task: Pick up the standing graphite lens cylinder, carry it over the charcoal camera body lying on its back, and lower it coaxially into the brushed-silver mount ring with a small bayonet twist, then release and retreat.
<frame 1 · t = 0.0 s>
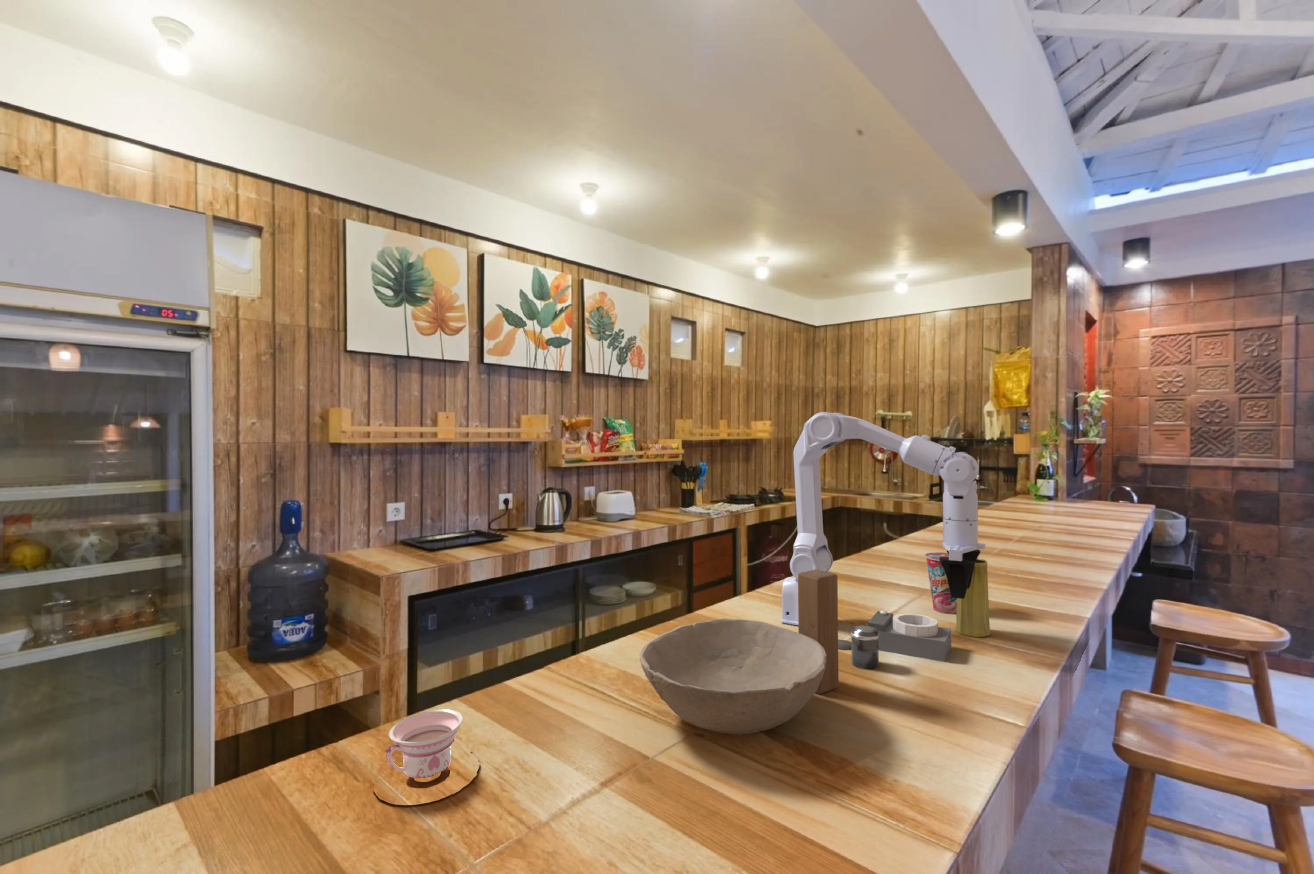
hand: (960, 592, 111), 10 cm above the countertop, fingers open, 7 cm apart
cup: (948, 611, 133), on the countertop
camera body: (909, 647, 111), on the countertop
lens cap: (841, 647, 113), on the countertop
lens: (865, 664, 104), on the countertop
wooden block: (807, 683, 97), on the countertop
teacup: (428, 778, 72), on the countertop
vase: (972, 633, 119), on the countertop
bowl: (733, 719, 85), on the countertop
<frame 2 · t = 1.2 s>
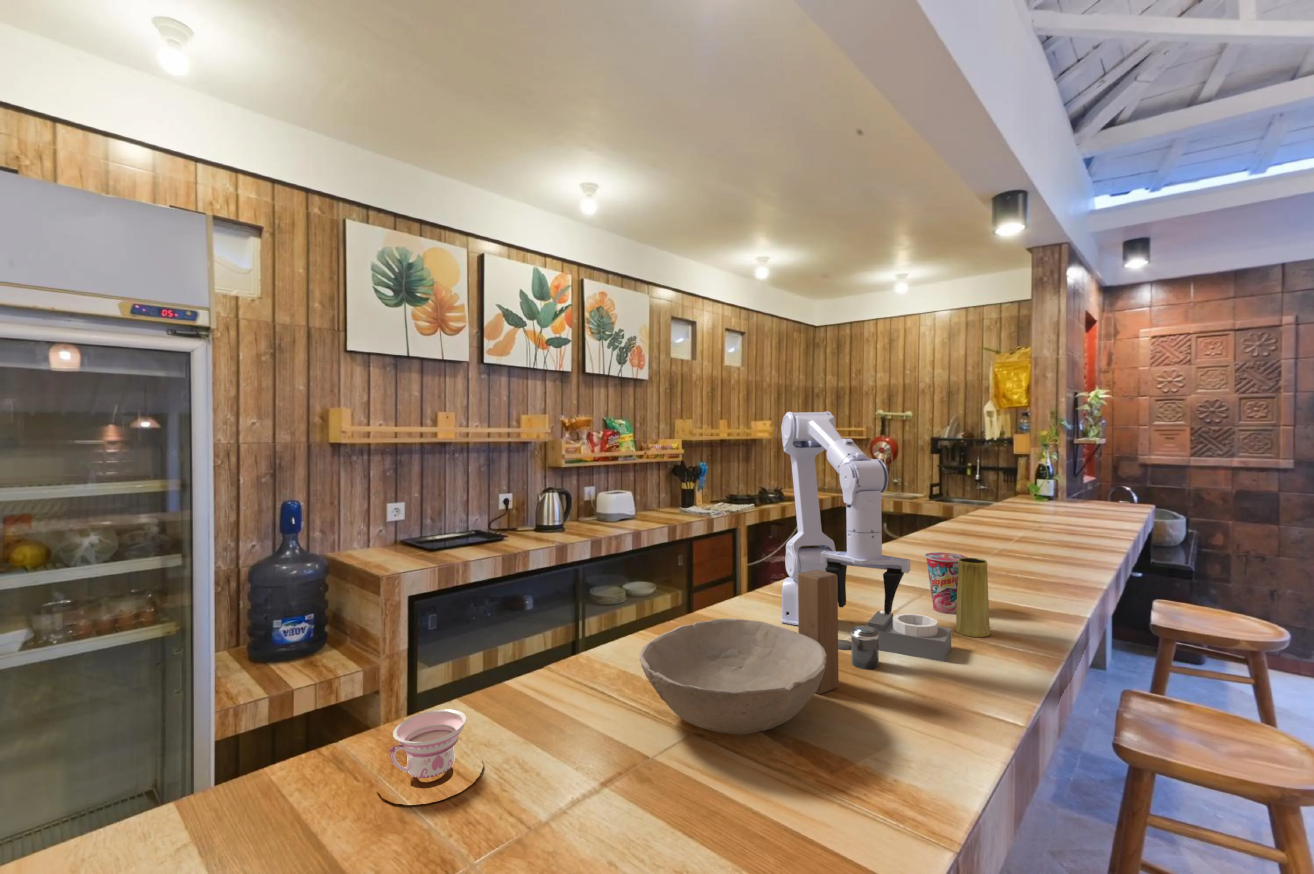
hand: (864, 609, 103), 10 cm above the countertop, fingers open, 7 cm apart
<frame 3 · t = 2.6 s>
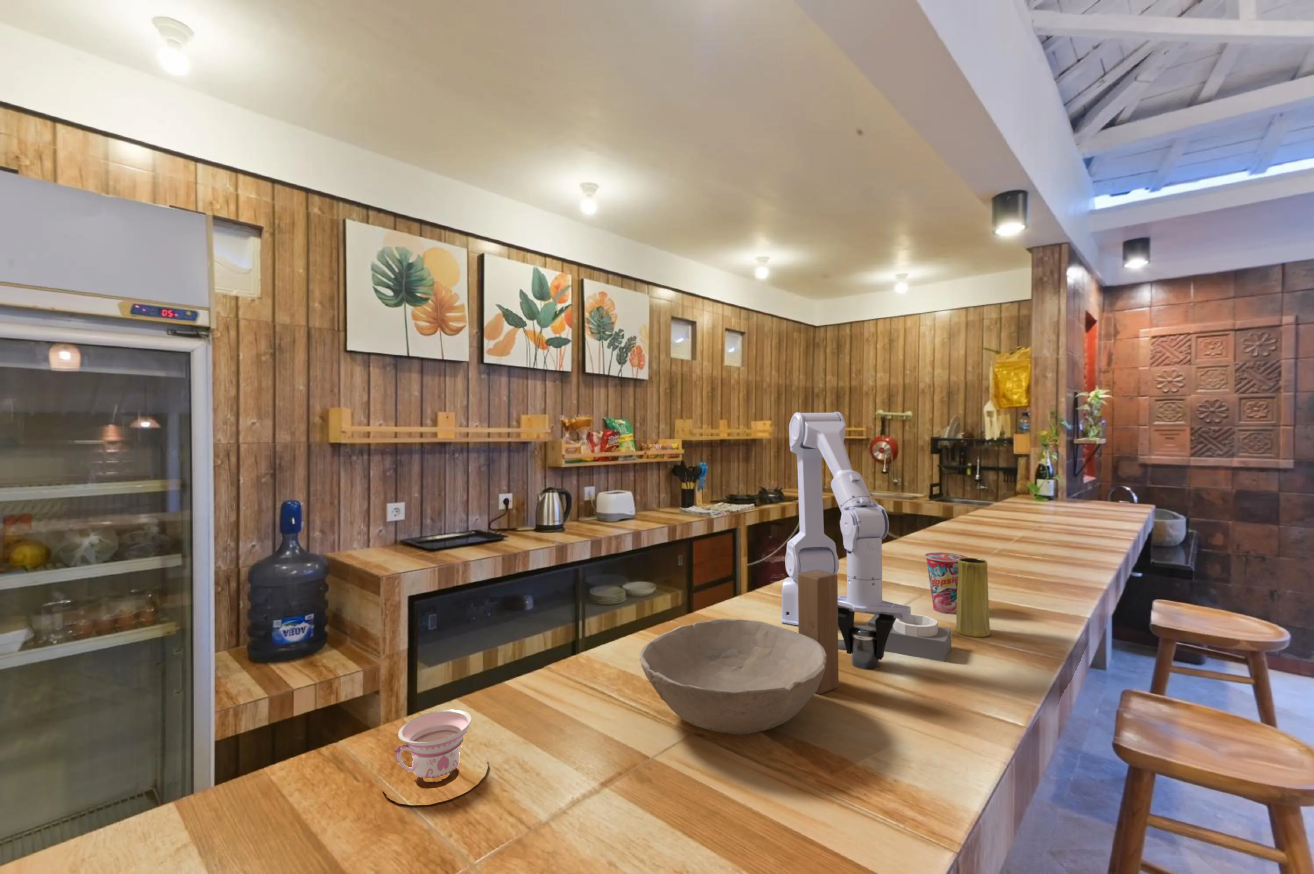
hand: (865, 654, 104), 2 cm above the countertop, fingers closed on lens, 4 cm apart
lens: (865, 664, 104), on the countertop, touching gripper
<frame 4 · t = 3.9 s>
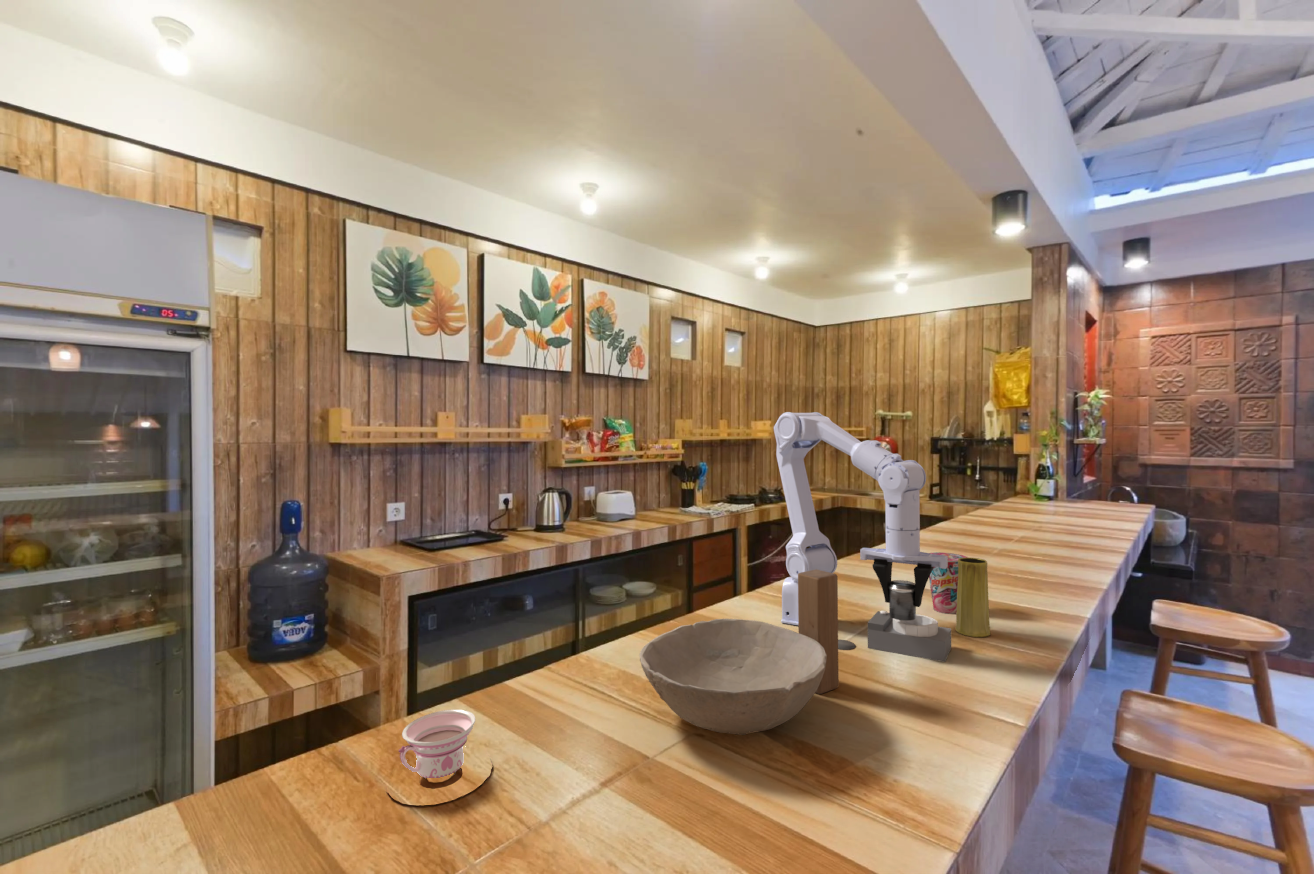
hand: (903, 603, 109), 9 cm above the countertop, fingers closed on lens, 4 cm apart
lens: (902, 616, 108), point 7 cm above the countertop, touching gripper
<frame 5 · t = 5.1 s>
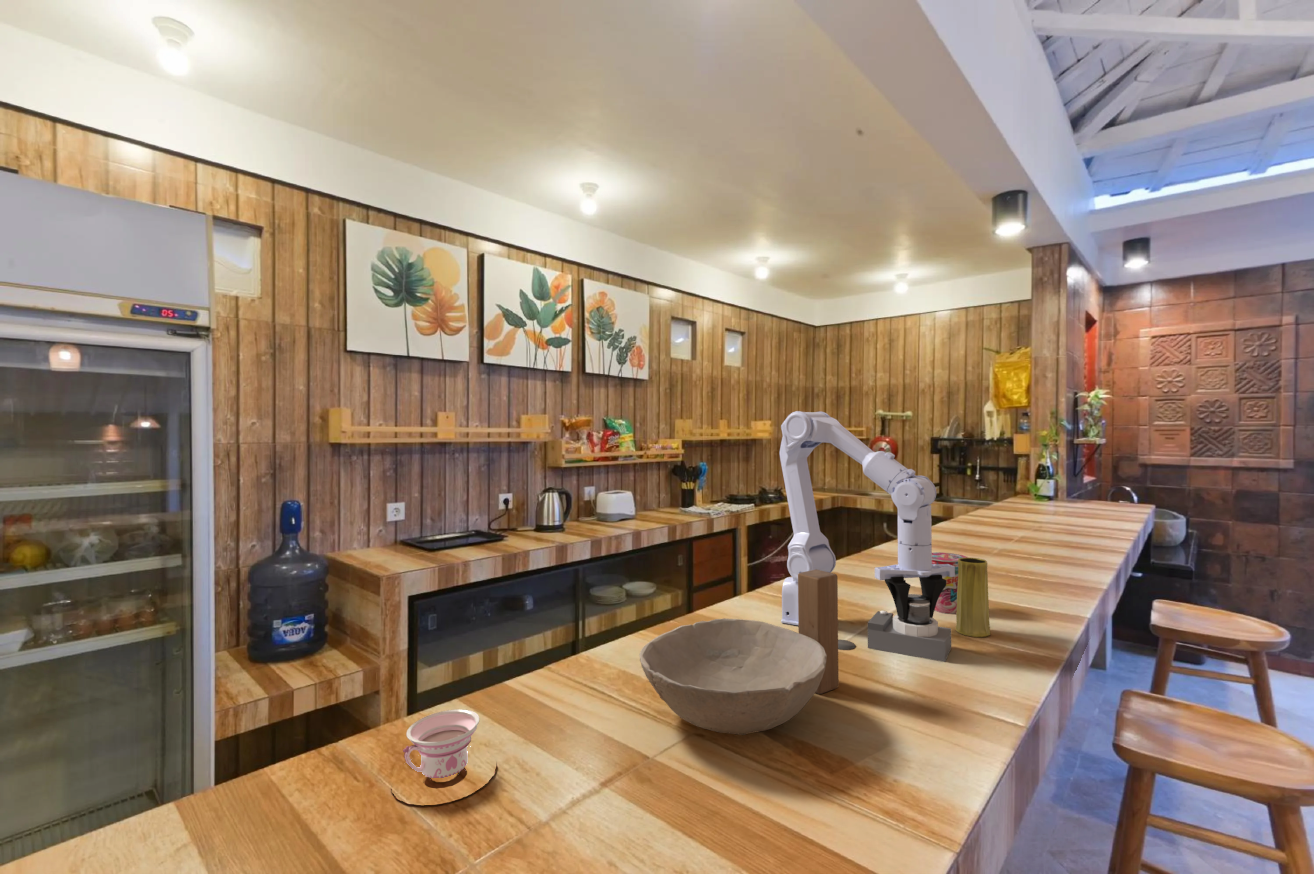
hand: (915, 616, 110), 6 cm above the countertop, fingers closed on lens, 4 cm apart
lens: (916, 630, 110), point 4 cm above the countertop, touching gripper
when the fingers open (6 cm above the countertop, at t = 5.6 s): lens stays where it is, resting on camera body.
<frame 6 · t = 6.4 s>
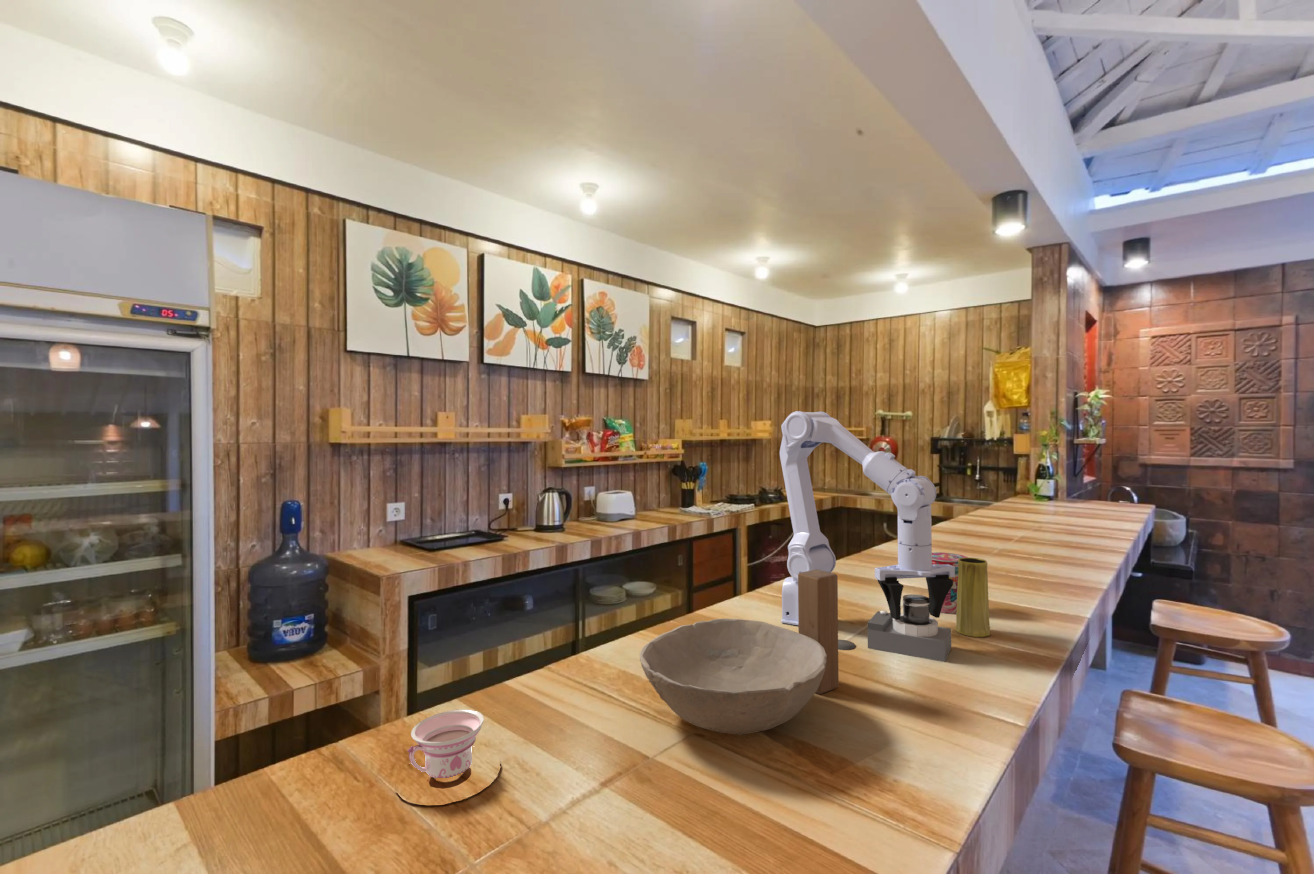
hand: (915, 617, 110), 6 cm above the countertop, fingers open, 7 cm apart
lens: (916, 630, 110), point 4 cm above the countertop, touching camera body
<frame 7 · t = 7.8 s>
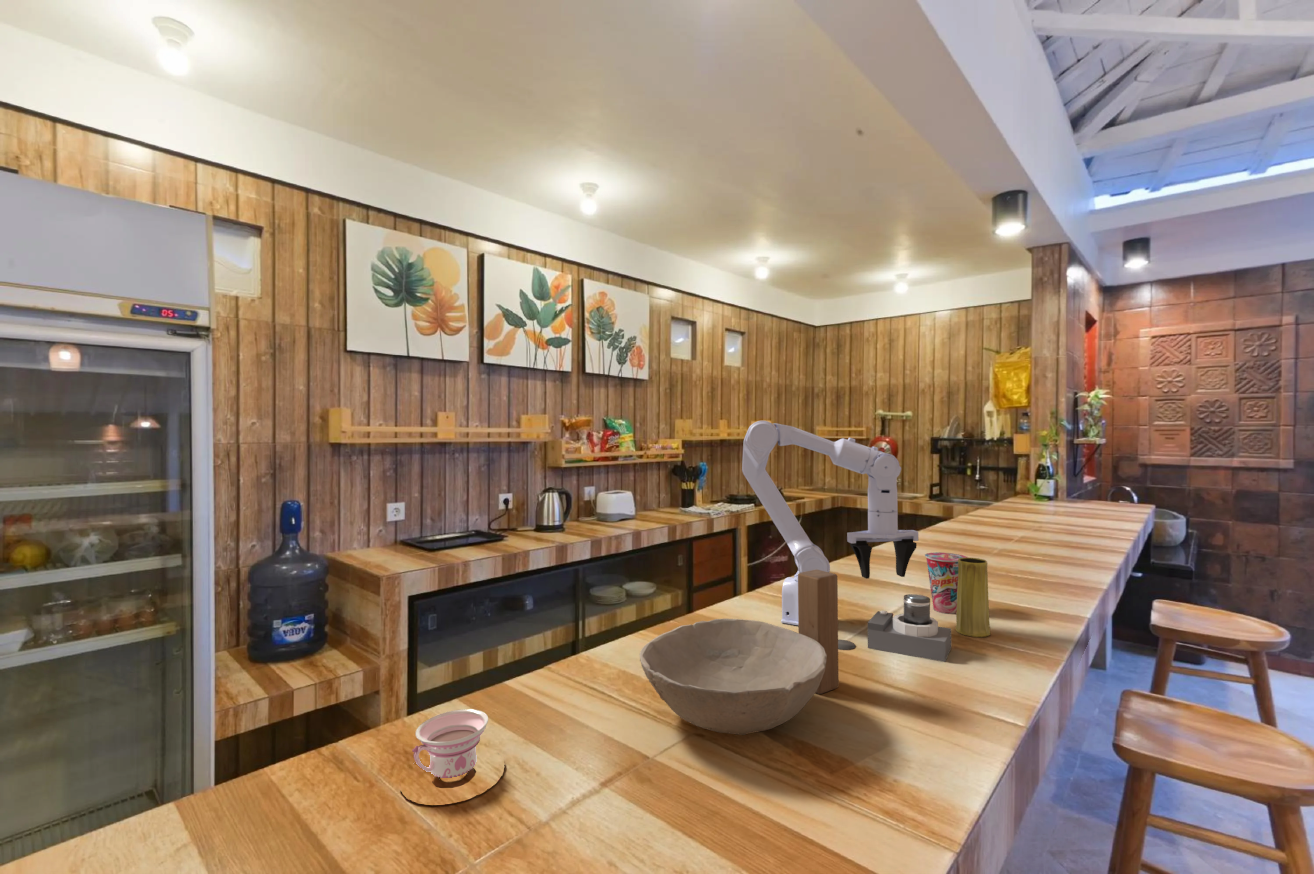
hand: (883, 576, 124), 10 cm above the countertop, fingers open, 7 cm apart
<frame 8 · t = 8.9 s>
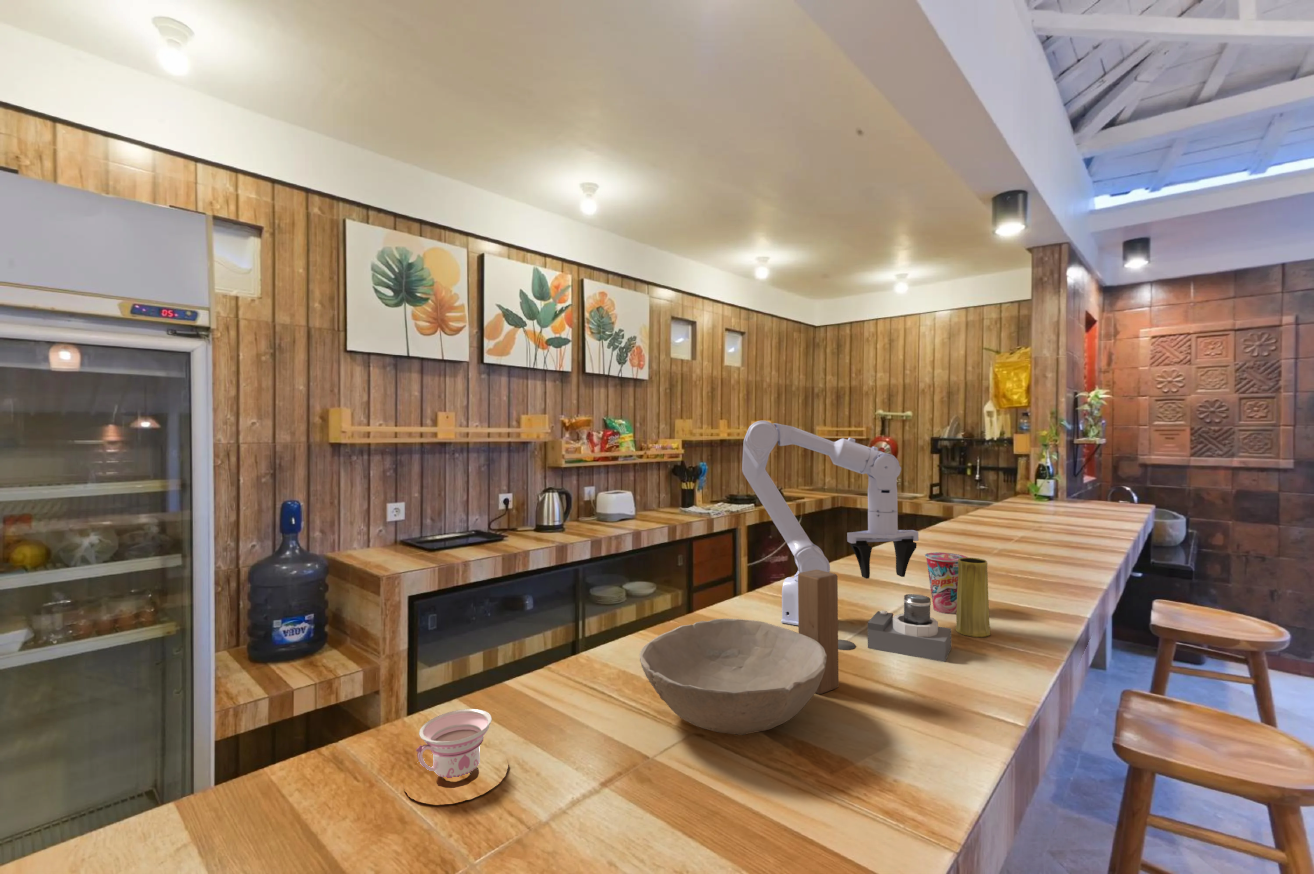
hand: (883, 576, 124), 10 cm above the countertop, fingers open, 7 cm apart
at the end: lens 0.5 cm from the target spot on the camera body, point 3.6 cm above the camera body's base; lens tilted 2°; the gripper is holding nothing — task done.
